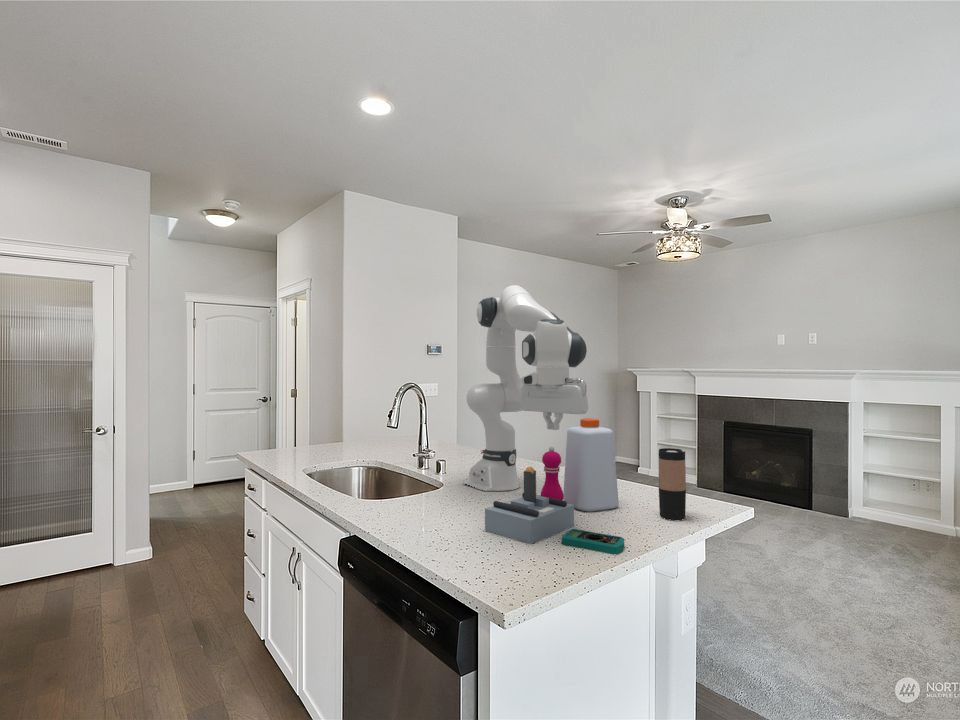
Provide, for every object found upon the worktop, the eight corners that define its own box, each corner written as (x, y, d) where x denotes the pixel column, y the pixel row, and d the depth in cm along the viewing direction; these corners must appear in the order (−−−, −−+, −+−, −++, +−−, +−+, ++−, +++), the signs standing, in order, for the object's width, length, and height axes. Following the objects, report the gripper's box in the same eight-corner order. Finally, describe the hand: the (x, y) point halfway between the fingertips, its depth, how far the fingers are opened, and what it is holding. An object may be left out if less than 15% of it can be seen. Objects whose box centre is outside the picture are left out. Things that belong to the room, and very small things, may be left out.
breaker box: (484, 530, 139) (484, 501, 139) (529, 514, 153) (529, 488, 153) (530, 544, 127) (530, 512, 128) (574, 525, 142) (574, 497, 142)
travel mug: (654, 517, 150) (653, 450, 150) (665, 511, 155) (665, 447, 156) (679, 522, 144) (678, 453, 145) (690, 516, 150) (689, 450, 150)
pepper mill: (563, 513, 154) (562, 448, 154) (539, 512, 155) (539, 447, 156) (564, 507, 161) (563, 444, 161) (541, 506, 162) (541, 444, 163)
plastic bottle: (624, 508, 159) (623, 420, 160) (583, 513, 154) (582, 422, 154) (596, 497, 173) (595, 416, 174) (558, 501, 168) (557, 418, 168)
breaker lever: (523, 506, 140) (523, 466, 140) (529, 504, 142) (529, 465, 142) (530, 507, 138) (529, 467, 139) (536, 505, 141) (536, 466, 141)
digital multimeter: (618, 557, 120) (618, 545, 120) (560, 546, 127) (560, 534, 127) (626, 548, 126) (626, 536, 126) (570, 537, 134) (570, 526, 134)
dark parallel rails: (491, 506, 140) (491, 501, 140) (524, 496, 151) (524, 491, 151) (536, 518, 130) (536, 511, 130) (568, 506, 140) (568, 500, 140)
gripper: (592, 378, 131) (593, 431, 130) (530, 377, 145) (530, 425, 144) (579, 378, 126) (579, 433, 126) (516, 378, 140) (516, 427, 140)
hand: (553, 429), depth 135 cm, fingers closed
